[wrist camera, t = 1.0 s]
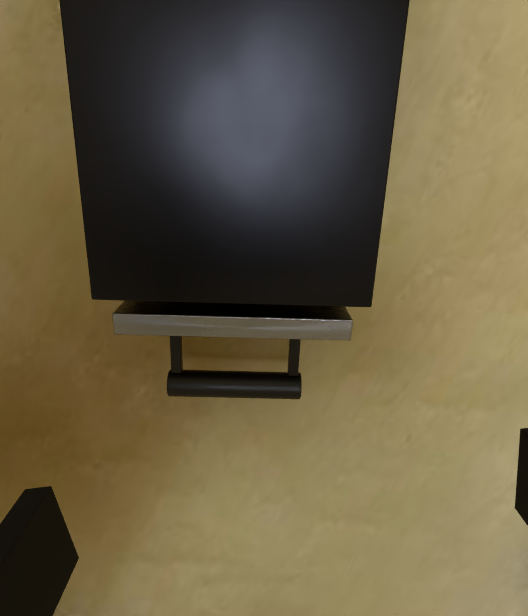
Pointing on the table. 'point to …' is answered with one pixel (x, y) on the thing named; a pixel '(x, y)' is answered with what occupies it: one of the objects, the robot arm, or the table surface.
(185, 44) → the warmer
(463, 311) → the table surface
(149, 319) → the drawer
